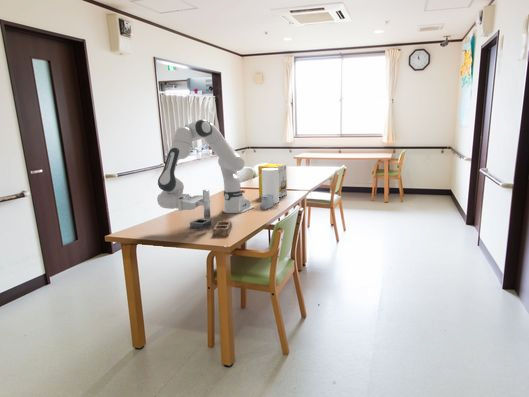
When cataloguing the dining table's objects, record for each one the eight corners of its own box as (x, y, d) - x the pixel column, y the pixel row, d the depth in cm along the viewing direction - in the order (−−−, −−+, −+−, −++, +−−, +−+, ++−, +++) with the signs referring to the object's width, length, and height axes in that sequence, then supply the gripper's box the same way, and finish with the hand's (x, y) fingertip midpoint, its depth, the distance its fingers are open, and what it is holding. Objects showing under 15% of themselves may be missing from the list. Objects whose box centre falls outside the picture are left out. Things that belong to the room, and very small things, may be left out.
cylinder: (269, 199, 291) (268, 167, 286) (282, 201, 284) (281, 168, 278) (259, 202, 282) (258, 169, 277) (272, 204, 274) (271, 170, 269)
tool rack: (213, 236, 204) (213, 229, 204) (218, 228, 219) (217, 221, 218) (228, 236, 204) (227, 228, 203) (231, 228, 219) (231, 221, 218)
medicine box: (268, 206, 270) (268, 194, 268) (273, 206, 267) (273, 195, 266) (261, 208, 264) (261, 196, 262) (266, 209, 262) (266, 197, 260)
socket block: (199, 223, 231) (198, 218, 230) (211, 224, 227) (211, 219, 226) (190, 227, 223) (189, 222, 222) (203, 228, 219) (202, 223, 218)
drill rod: (206, 216, 217) (205, 189, 213) (211, 217, 215) (210, 189, 212) (202, 218, 214) (201, 190, 210) (208, 219, 212) (206, 191, 208)
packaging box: (276, 199, 293) (276, 167, 288) (259, 197, 301) (258, 166, 296) (286, 195, 306) (286, 164, 301) (269, 193, 315) (268, 163, 310)
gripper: (192, 202, 226) (214, 203, 223) (177, 211, 206) (201, 212, 203) (191, 192, 224) (214, 193, 221) (177, 200, 205) (201, 201, 202)
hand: (208, 202), depth 212 cm, fingers closed on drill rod, 4 cm apart
